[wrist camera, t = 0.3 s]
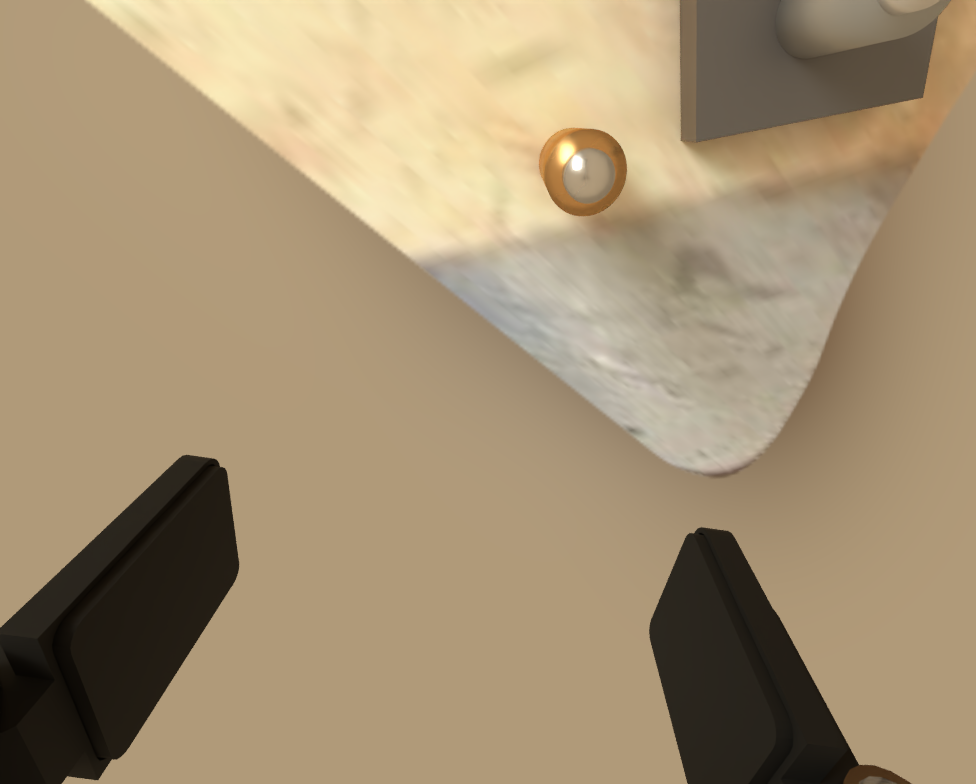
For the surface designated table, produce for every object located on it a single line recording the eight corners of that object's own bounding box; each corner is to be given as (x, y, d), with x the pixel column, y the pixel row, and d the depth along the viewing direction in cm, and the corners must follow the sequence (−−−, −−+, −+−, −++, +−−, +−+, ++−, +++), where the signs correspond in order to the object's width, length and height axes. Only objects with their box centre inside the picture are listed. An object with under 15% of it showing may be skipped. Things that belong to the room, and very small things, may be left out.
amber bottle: (535, 135, 32) (541, 139, 23) (598, 122, 31) (630, 120, 23) (543, 200, 34) (552, 227, 25) (603, 189, 33) (634, 212, 24)
